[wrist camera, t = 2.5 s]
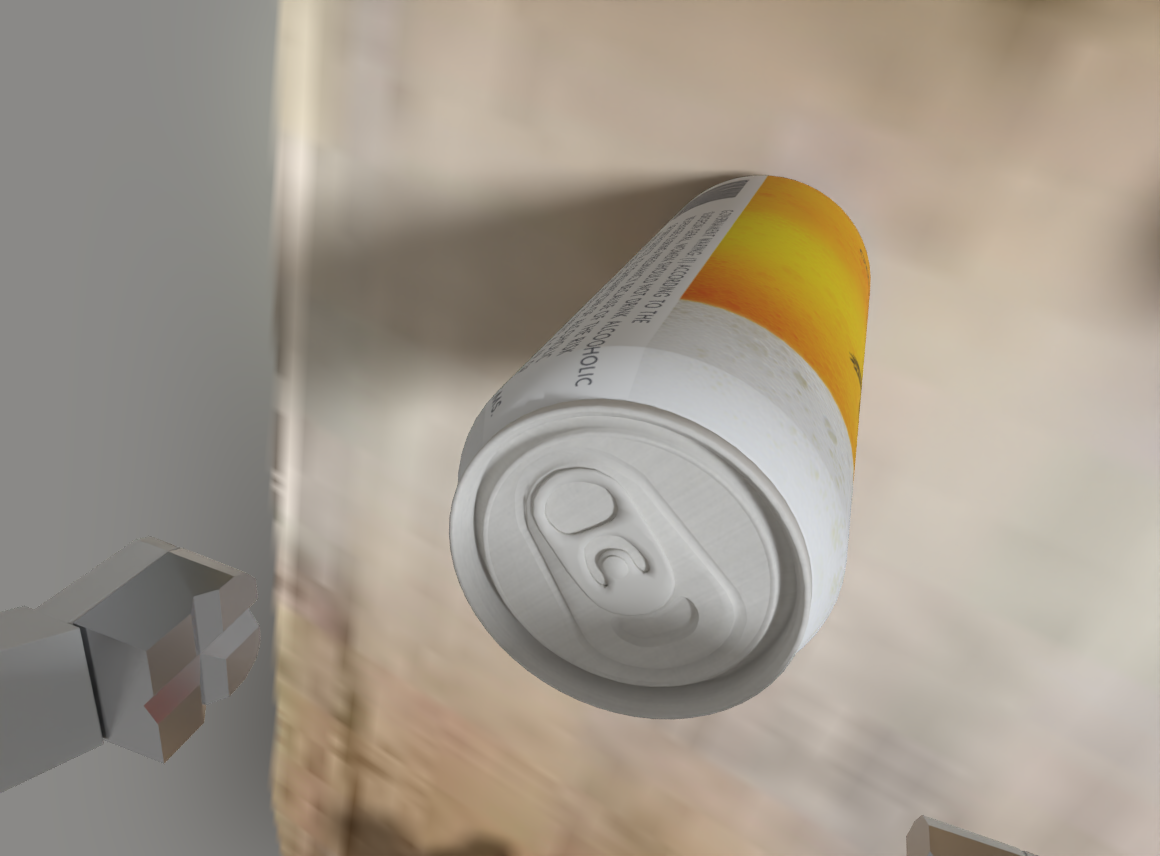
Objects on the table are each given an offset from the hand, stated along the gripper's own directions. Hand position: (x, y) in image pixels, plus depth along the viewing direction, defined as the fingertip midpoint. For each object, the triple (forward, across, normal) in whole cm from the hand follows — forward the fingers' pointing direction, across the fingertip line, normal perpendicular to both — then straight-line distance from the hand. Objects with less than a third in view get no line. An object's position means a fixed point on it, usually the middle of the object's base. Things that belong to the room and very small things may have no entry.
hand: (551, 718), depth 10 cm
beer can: (+18, 0, 0) cm, 18 cm away
